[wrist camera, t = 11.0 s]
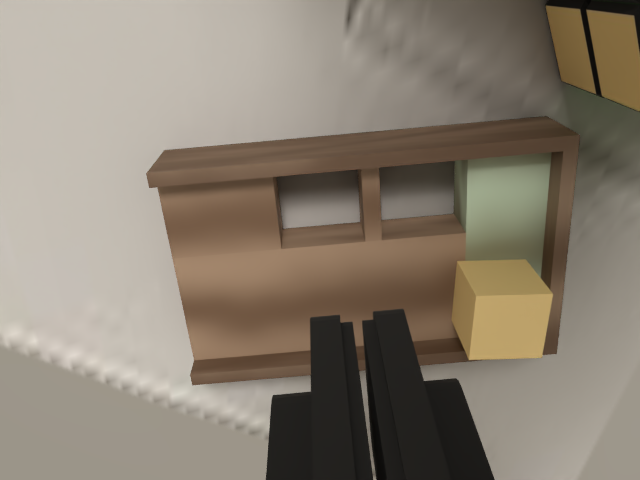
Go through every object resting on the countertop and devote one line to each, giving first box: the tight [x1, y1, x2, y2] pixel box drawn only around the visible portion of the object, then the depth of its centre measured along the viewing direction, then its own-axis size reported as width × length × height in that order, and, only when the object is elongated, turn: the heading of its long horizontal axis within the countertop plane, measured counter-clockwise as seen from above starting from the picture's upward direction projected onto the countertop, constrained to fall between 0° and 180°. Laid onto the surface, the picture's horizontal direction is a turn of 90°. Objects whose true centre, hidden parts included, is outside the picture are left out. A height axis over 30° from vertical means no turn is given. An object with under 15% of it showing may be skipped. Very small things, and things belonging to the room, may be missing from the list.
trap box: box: [146, 116, 580, 385], centre depth 35 cm, size 14×23×4 cm, turn 95°
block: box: [452, 259, 553, 360], centre depth 34 cm, size 4×4×4 cm
